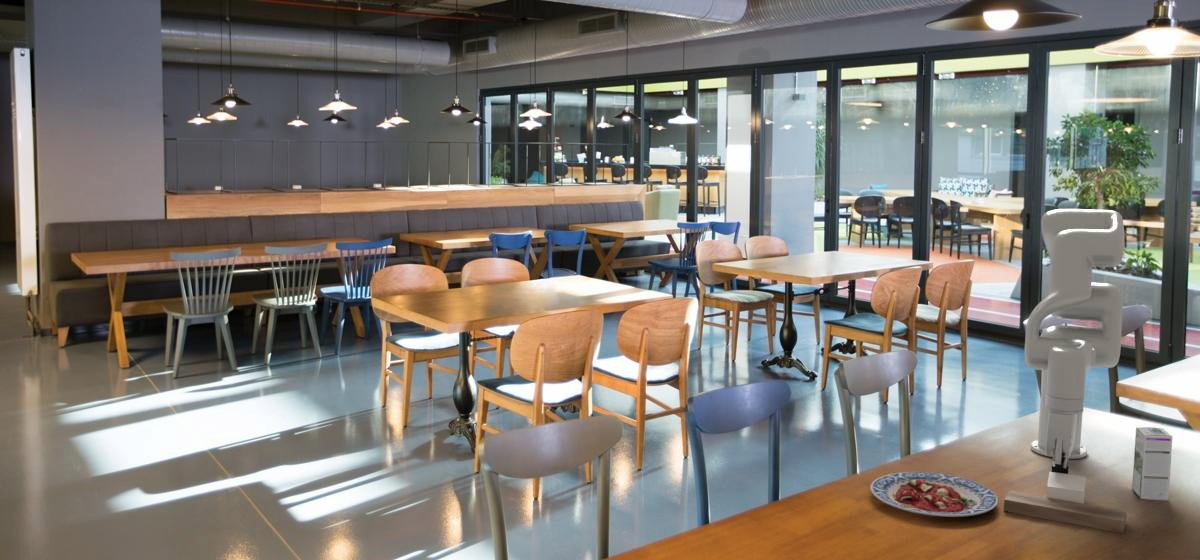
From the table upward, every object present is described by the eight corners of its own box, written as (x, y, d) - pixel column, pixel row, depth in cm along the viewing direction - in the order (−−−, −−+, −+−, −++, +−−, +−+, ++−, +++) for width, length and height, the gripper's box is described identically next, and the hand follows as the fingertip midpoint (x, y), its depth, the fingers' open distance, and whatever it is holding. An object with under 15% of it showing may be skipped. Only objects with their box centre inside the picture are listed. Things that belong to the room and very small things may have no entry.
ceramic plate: (848, 503, 206) (848, 490, 205) (903, 473, 224) (903, 460, 224) (967, 536, 188) (967, 522, 188) (1016, 500, 207) (1016, 486, 206)
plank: (1009, 501, 205) (1009, 490, 205) (1125, 523, 193) (1126, 511, 193) (1003, 510, 200) (1004, 499, 200) (1123, 533, 188) (1124, 521, 188)
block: (1047, 493, 210) (1049, 471, 210) (1083, 498, 207) (1085, 476, 206) (1045, 509, 201) (1047, 486, 201) (1083, 514, 198) (1084, 491, 198)
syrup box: (1169, 501, 205) (1174, 435, 203) (1139, 499, 206) (1144, 434, 204) (1159, 491, 211) (1164, 427, 209) (1130, 489, 212) (1135, 426, 210)
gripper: (1050, 392, 216) (1045, 469, 219) (1040, 409, 204) (1035, 491, 207) (1087, 396, 212) (1082, 475, 215) (1079, 414, 200) (1073, 498, 203)
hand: (1059, 483), depth 211 cm, fingers closed
